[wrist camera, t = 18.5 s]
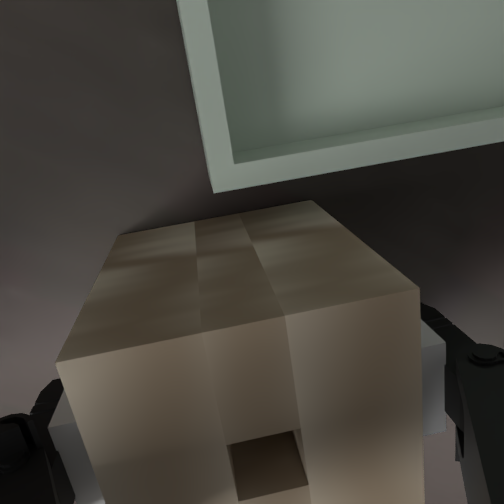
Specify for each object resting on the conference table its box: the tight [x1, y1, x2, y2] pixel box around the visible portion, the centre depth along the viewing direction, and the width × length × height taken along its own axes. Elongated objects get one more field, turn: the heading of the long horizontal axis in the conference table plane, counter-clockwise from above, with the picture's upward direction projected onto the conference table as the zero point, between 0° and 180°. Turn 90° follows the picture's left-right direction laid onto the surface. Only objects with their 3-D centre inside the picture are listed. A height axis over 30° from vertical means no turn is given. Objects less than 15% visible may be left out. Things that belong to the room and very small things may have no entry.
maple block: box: [55, 200, 425, 504], centre depth 13 cm, size 7×7×8 cm
